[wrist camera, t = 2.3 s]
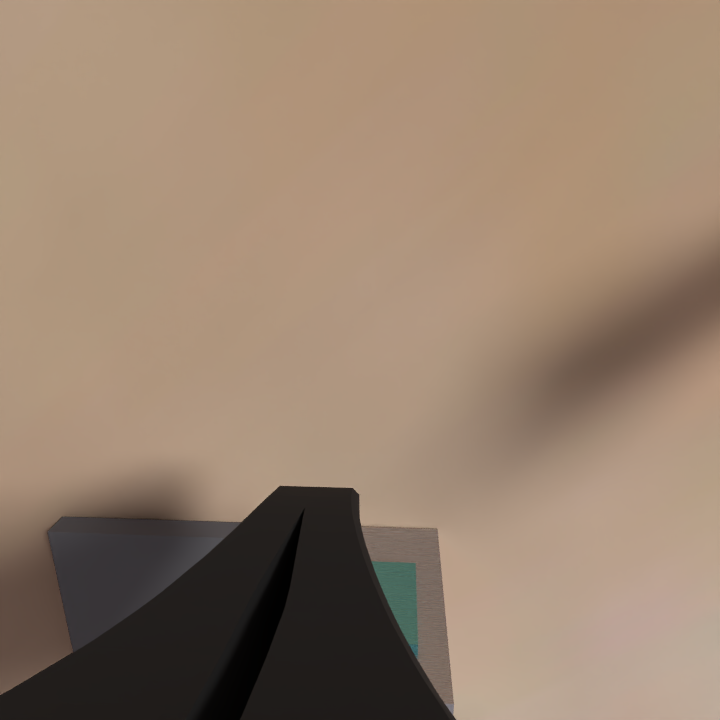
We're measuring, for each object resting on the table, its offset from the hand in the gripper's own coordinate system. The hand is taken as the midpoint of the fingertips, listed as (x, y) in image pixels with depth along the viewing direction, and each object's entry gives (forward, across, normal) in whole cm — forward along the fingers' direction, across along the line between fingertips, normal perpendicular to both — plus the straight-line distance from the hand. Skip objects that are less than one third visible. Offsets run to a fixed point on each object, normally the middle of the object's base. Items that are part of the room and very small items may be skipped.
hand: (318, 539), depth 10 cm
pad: (+7, +6, +8) cm, 12 cm away
